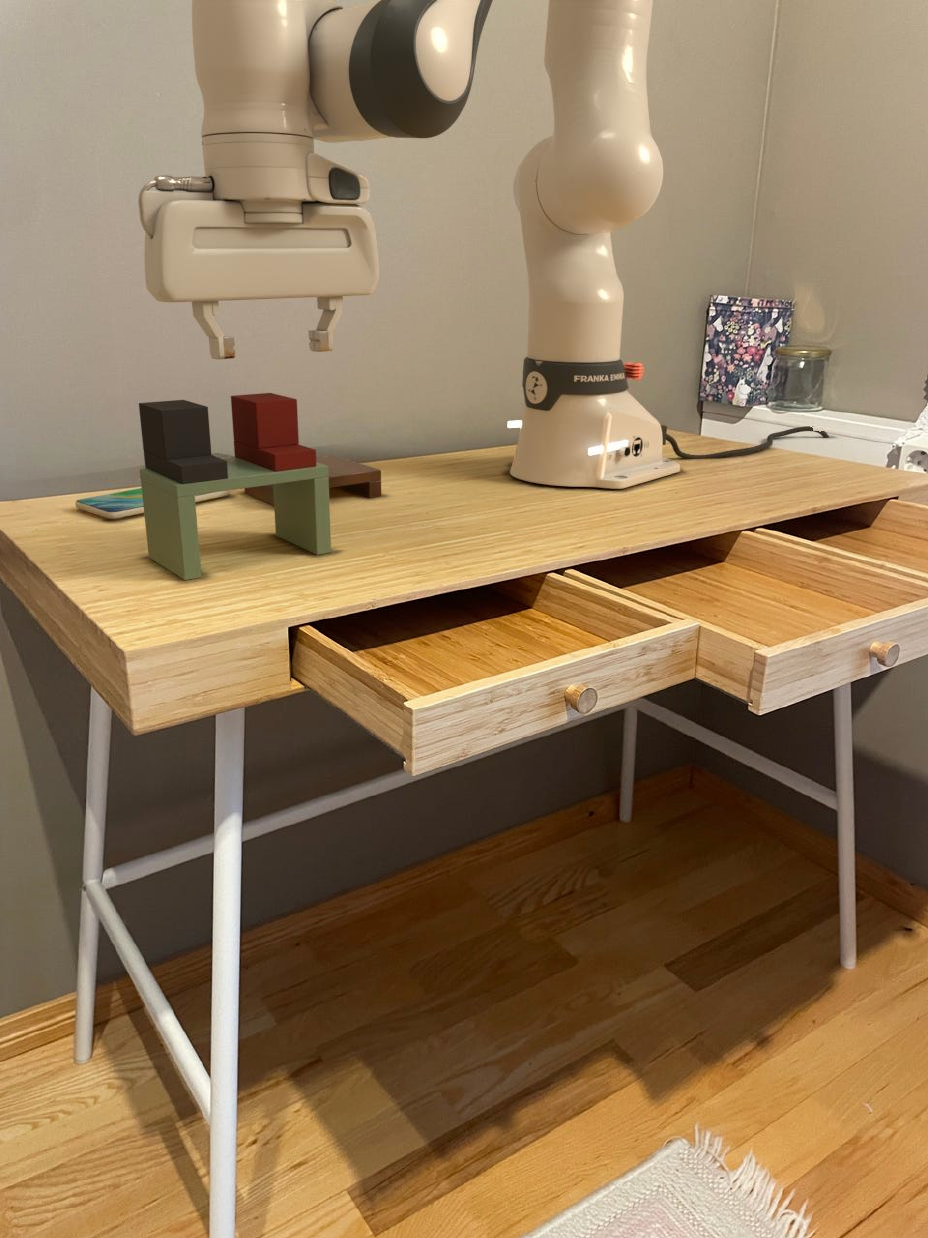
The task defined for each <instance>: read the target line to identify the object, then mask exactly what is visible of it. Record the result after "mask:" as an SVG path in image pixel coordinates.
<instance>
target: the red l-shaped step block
mask: <svg viewBox="0 0 928 1238" xmlns="http://www.w3.org/2000/svg"><path fill="white" fill-rule="evenodd" d="M230 404H231V405H230V407H231V419H232V420H231V421H232V434H233V435H232V436H233V451H234V457H237V458H240V459H242V460H245V461H248V462H251V463H253V464H256V465H259V466H261V467H264V468H267V469H270V470H272V471H275V472H278V471H286V470H294V469H301V468H309V467H316V458H317V450H316V449H315V448H311V447H308V446H305V445H302V444H300V441H299V440H300V439H299V437H300V436H299V416H298V400H297V398H293V397H289V396H286V395H281V394H277V393H273V392H262V393H261V392H260V393H250V394H249V393H248V394H237V395H230Z"/></svg>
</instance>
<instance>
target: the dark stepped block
mask: <svg viewBox="0 0 928 1238" xmlns="http://www.w3.org/2000/svg"><path fill="white" fill-rule="evenodd" d="M138 410H139V419H140V420H139V421H140V429H141V430H140V431H141V441H142V449H143V458H144V460H143V461H144V468H148V469H150V470H152V471H154V472H156V473H159V474H161V475H163V476H165V477H167V478H170V479H172V480H174V481H176V482H178V483H181V484H189V483H197V482H205V481H212V480H220V479H228V469H227V461H226V460H224V459H225V458H221V457H219V456H215V455H213V454H212V445H211V431H210V429H211V428H210V417H209V407H208V406H207V405H203V404H199V403H197V402H193V401H189V400H186V399H176V400H175V399H174V400H162V401H148V402H138Z"/></svg>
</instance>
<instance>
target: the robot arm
mask: <svg viewBox="0 0 928 1238" xmlns="http://www.w3.org/2000/svg"><path fill="white" fill-rule="evenodd" d="M493 1H494V0H370V1H366V2H363V3H360V4H356V5H351V6H348V7H345V8H344V7H343V6H342V5H341V4H338V3H336V2H335V1H333V0H191V28H192V45H193V46H192V47H193V60H194V72H195V78H196V80H197V84H198V87H199V89H200V93H201V97H202V102H203V118H202V124H201V130H200V131H201V132H200V134H201V136H200V137H201V146H202V148H201V149H202V159H203V168H204V169H203V170H204V176H192V175H191V176H178V177H177V176H172V175H168V174H163V175H161V174H160V175H155V176H154V178H153V180H151V181H148V182H147V183H145V184H144V185H143V187H142V188H141V190H140V192H139V194H138V203H137V204H138V212H139V220H140V223H141V227H142V228H143V230H144V278H145V279H144V280H145V286H146V287H145V288H146V290H147V292H148V293H149V294H150V295H151V296H152V298H154V300H155V301H157V302H160V303H161V302H162V303H191V308H192V316H193V318H194V319H195V320H196V322H197V323H198V325H199V326H200V328H201V330H202V331H203V332H204V334H205V335H206V337H208V345H209V353H210V357H211V359H212V360H229V359H230V360H231V359H235V358H236V350H235V348H234V347H235V336H232V335H231V336H230V335H225V334H224V333H223V331H222V329H221V328H220V326H219V324H218V322H217V321H216V319H215V316H217V317H218V316H219V315H220V303H219V302H220V301H221V302H222V301H223V302H224V301H250V300H251V301H253V300H276V299H278V300H279V299H301V298H302V299H304V298H305V299H306V298H316V303H317V304H316V305H317V309H318V310H322V313H321V315H320V318H319V321H318V323H317V326H316V327H315V328H316V329H309V330H308V339H309V343H308V345H309V349H310V351H311V352H316V353H321V352H322V353H323V352H332V351H333V350H334V331H335V329H336V327H337V325H338V322H339V320H340V318H341V316H342V314H343V312H344V297H354V296H355V297H356V296H371V295H372V294H373V293H374V291H375V290H376V288H377V286H378V285H379V281H380V263H379V261H380V259H379V249H378V248H379V247H378V239H377V232H376V226H375V223H374V219H373V217H372V214H371V213H370V212H369V211H368V210H367V209H366V208H365V207H364V206H362V205H364V204H366V203H368V202H369V200H370V196H371V187H370V181H369V180H368V177H366V176H364V175H362V174H361V173H358V172H356V171H354V170H351V169H349V168H348V167H345V166H342V165H341V164H338V163H337V162H334V161H332V160H330V159H328V158H326V157H324V156H322V155H320V154H318V153H315V140H317V141H320V142H323V143H329V144H333V143H335V144H336V143H337V144H338V143H347V142H363V141H371V140H372V141H373V140H379V139H387V138H389V139H390V138H397V139H431V138H435V137H438V136H440V135H442V134H443V133H445V132H446V131H448V130H449V129H450V128H451V127H452V126H453V125H454V124H455V123H456V121H458V119H459V117H460V116H461V114H462V112H463V111H464V108H465V106H466V104H467V102H468V99H469V97H470V93H471V89H472V85H473V81H474V75H475V68H476V62H477V54H478V50H479V44H480V40H481V36H482V32H483V29H484V27H485V23H486V21H487V17H488V14H489V12H490V10H491V6H492V4H493ZM653 5H654V0H548V9H547V19H546V20H547V21H546V31H545V32H546V33H545V43H544V55H543V56H544V57H543V62H544V67H545V71H546V73H547V75H548V78H549V83H550V88H551V89H550V91H551V98H552V110H553V132H552V133H553V134H552V135H550V136H548V137H545V138H543V139H542V140H540V141H539V142H537V143H536V144H535V145H534V146H533V147H532V148H531V149H530V150H529V151H528V152H527V154H526V155H525V156H524V157H523V159H522V160H521V162H520V163H519V164H518V167H517V169H516V171H515V174H514V178H513V183H512V185H513V186H512V191H513V199H514V202H515V206H516V207H517V210H518V212H519V215H520V216H519V217H520V222H521V223H520V225H521V233H522V234H521V235H522V242H523V250H524V257H525V263H526V271H527V280H528V281H527V283H528V319H527V353H526V355H527V356H526V357H524V359H523V365H522V367H523V368H522V380H521V381H522V384H521V385H522V386H521V387H522V391H523V398H524V400H523V407H522V408H523V409H522V411H521V412H522V414H521V419H520V420H508V421H507V428H508V429H512V428H513V429H514V428H519V432H518V439H517V442H516V443H517V444H516V448H515V453H514V456H513V460H512V463H511V466H510V470H509V475H511V476H512V477H513V478H515V479H518V480H522V481H525V482H529V483H534V484H540V485H548V486H555V487H556V486H557V487H572V488H573V487H577V488H578V487H580V488H581V487H583V488H585V487H586V488H601V489H612V490H613V489H614V490H621V489H627V488H629V487H633V486H636V485H639V484H643V483H647V482H649V481H653V480H656V479H659V478H663V477H666V476H669V475H673V474H677V473H679V472H681V465H680V463H678V462H677V461H675V460H672V459H670V458H667V457H664V456H663V447H664V446H666V444H667V443H666V442H668V443H669V444H670V445H671V448H672V450H673V452H674V454H675V455H676V456H677V457H678V458H682V459H684V460H706V459H721V458H727V457H733V456H738V455H746V454H752V453H756V452H760V451H762V450H764V449H765V450H766V449H767V448H770V447H771V446H772V445H773V443H774V439H776V438H781V437H785V436H790V435H792V434H798V433H801V432H802V433H803V432H813V433H817V434H819V435H820V436H822V438H824V439H830V436H829V434H828V433H827V431H825V430H824V431H821V432H819V431H813V428H812V427H813V426H812V427H810V425H806V426H805V425H804V426H798V427H794V428H790V429H789V428H788V429H785V430H782V431H781V430H780V431H776V432H773V433H770V434H769V435H767V438H766V439H767V440H766V441H765V442H764V443H761V444H759V445H758V444H757V445H755V446H750V447H745V448H744V447H743V448H738V449H737V448H736V449H731V450H725V451H720V452H715V453H709V454H690V453H685V452H683V451H682V450H681V449H680V448H679V446H678V445H679V444H678V443H677V441H676V439H675V438H674V437H673V436H671V434H668V433H667V431H668V425H665V424H660V422H659V420H658V419H657V418H655V417H654V415H652V414H651V413H650V412H649V411H648V410H647V409H646V408H645V407H644V406H643V405H642V404H641V403H640V402H639V401H638V400H637V399H636V398H635V397H634V396H633V395H632V394H631V393H630V392H629V391H628V390H629V388H630V387H629V382H628V380H630V379H632V380H636V381H640V380H641V379H642V378H643V377H644V375H645V367H644V364H643V363H642V362H632V361H627V362H626V363H625V364H624V363H623V361H622V359H621V345H622V344H621V343H622V329H623V314H624V299H625V294H624V293H625V292H624V288H623V284H622V281H621V280H620V278H619V275H618V273H617V268H616V265H615V259H614V253H613V245H612V239H611V238H612V237H611V236H612V235H611V233H613V232H617V231H619V230H621V229H624V228H625V227H627V226H628V225H630V224H633V223H634V222H636V221H637V220H638V219H640V218H641V217H643V216H644V215H645V214H646V213H647V212H649V210H651V208H652V207H653V206H654V204H655V203H656V201H657V199H658V197H659V195H660V192H661V189H662V186H663V181H664V162H663V158H662V155H661V151H660V149H659V146H658V145H657V143H656V141H655V140H654V138H653V135H652V130H651V121H650V111H649V110H650V109H649V100H648V99H649V97H648V84H647V83H648V81H647V79H648V78H647V69H648V68H647V67H648V50H649V42H650V34H651V33H650V32H651V24H652V15H653ZM152 188H155V190H151V189H152Z"/></svg>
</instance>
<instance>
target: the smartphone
mask: <svg viewBox="0 0 928 1238" xmlns="http://www.w3.org/2000/svg"><path fill="white" fill-rule="evenodd" d="M229 493H230V490H228V491H221V492H213V493H206V494H199V495H195V503H200V502H203V501H209V500H213V499H218V498H223V497H227V496H228V495H229ZM74 504H75V507H76V508H77V509H78V510H81V511H84V512H86V513H87V512H88V513H91V514H94V515H97V516H100V517H103V518H106V519H108V520H109V519H110V520H118V519H121V518H127V517H131V516H137V515H141V514H144V506H143V497H142V487H139V488H135V489H129V490H124V491H123V490H122V491H117V492H113V493H108V494H103V495H97V496H91V497H86V498H80V499H77V500H75V502H74Z"/></svg>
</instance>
